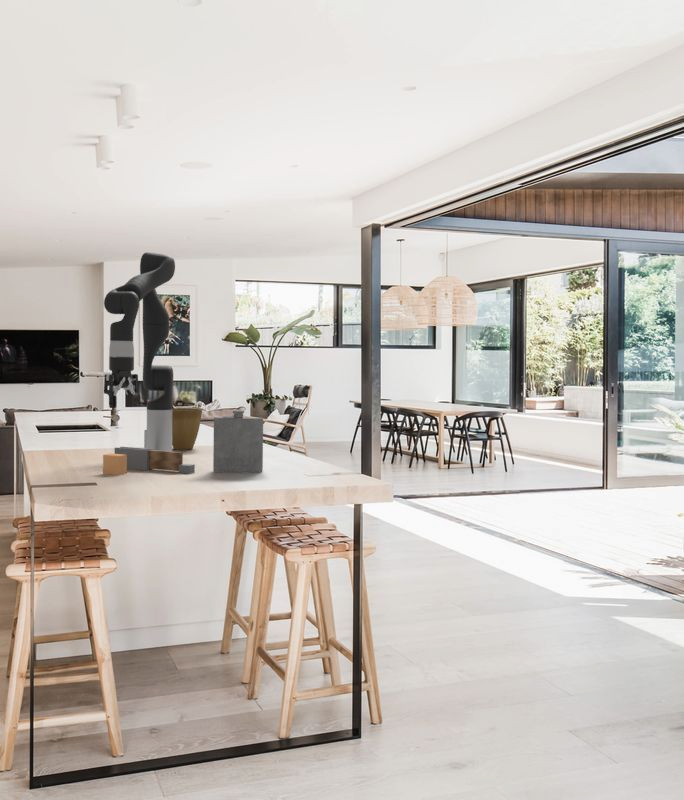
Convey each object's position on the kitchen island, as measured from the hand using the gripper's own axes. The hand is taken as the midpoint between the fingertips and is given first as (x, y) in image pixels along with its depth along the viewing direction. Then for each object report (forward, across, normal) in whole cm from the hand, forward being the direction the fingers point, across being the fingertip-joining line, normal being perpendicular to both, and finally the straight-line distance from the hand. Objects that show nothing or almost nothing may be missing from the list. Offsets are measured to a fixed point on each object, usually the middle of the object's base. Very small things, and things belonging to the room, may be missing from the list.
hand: (121, 407), depth 269 cm
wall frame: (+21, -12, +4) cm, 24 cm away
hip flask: (+21, -22, +30) cm, 42 cm away
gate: (+21, -12, +8) cm, 25 cm away
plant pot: (+20, -66, -20) cm, 72 cm away
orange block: (+21, +1, -2) cm, 21 cm away
